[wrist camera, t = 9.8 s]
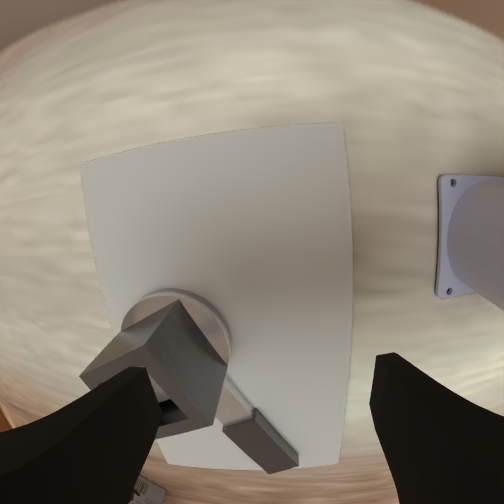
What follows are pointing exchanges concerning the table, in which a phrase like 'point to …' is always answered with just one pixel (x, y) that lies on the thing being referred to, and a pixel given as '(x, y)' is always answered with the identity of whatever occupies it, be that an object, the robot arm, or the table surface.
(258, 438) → the ratchet
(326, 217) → the mat
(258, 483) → the table surface
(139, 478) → the coffee box
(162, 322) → the socket
